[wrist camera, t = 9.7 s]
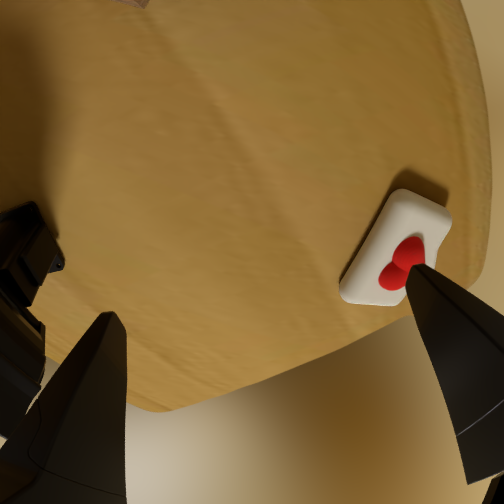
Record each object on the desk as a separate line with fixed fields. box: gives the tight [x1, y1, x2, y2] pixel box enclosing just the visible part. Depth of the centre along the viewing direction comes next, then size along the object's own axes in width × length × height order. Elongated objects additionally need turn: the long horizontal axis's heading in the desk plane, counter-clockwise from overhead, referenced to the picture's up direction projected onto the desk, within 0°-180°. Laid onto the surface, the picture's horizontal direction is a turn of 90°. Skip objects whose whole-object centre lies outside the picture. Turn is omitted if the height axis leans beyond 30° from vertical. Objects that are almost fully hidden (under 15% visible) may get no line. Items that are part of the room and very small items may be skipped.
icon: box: [339, 189, 452, 306], centre depth 26 cm, size 12×4×10 cm
